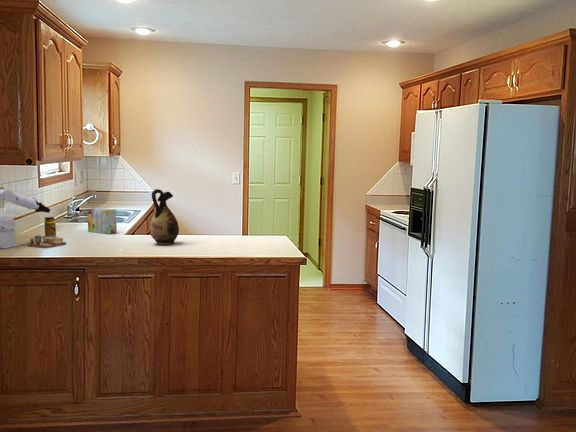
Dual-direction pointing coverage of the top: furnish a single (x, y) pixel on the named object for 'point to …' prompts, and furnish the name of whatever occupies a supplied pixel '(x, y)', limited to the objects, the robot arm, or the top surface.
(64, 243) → the wooden tray
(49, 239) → the oak leg
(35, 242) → the foot cap
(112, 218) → the snack box
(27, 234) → the top surface
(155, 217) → the ceramic jug
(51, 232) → the condiment
